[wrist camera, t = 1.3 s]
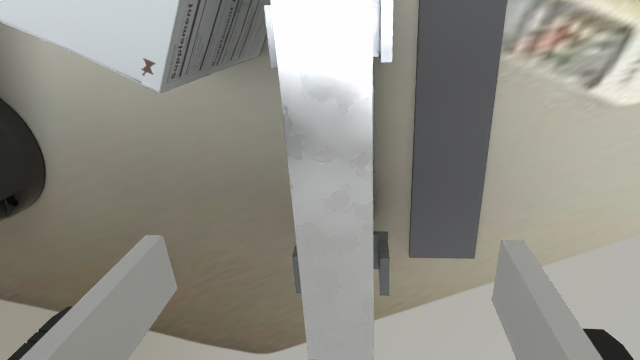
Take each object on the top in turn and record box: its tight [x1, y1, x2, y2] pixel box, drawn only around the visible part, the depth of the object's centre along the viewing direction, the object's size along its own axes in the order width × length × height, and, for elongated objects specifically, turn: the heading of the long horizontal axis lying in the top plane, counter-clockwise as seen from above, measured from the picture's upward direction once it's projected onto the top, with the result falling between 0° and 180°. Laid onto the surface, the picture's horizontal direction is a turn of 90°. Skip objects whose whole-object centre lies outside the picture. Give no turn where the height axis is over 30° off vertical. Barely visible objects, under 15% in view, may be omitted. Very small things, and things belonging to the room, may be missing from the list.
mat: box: [409, 0, 507, 259], centre depth 33 cm, size 6×27×1 cm, turn 4°
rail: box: [271, 0, 374, 360], centre depth 23 cm, size 4×26×6 cm, turn 4°
